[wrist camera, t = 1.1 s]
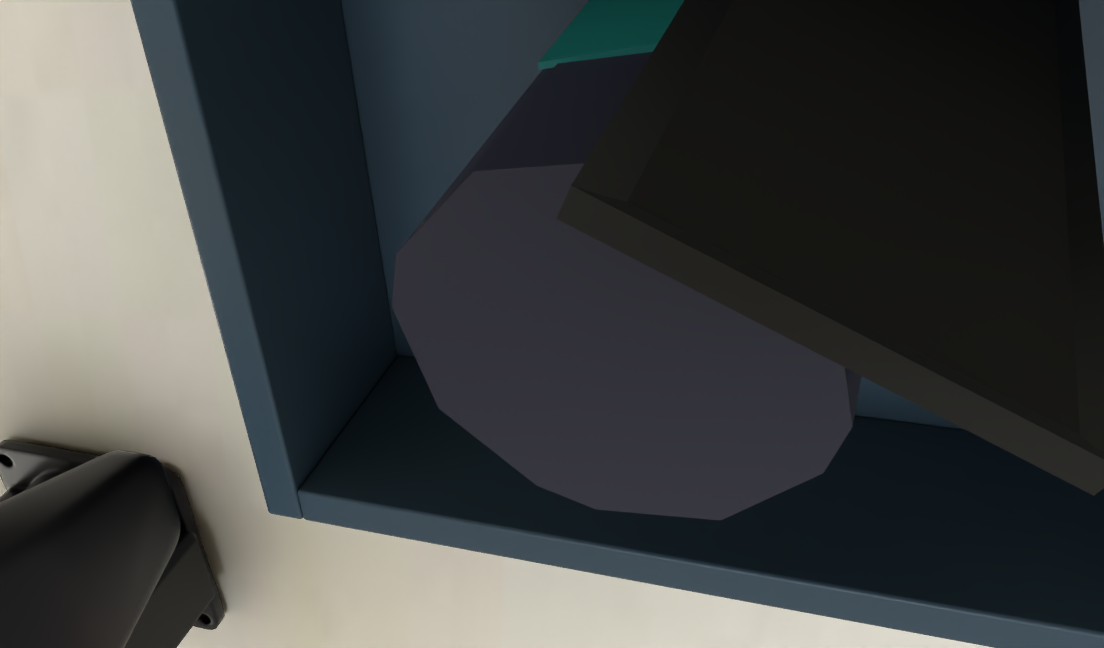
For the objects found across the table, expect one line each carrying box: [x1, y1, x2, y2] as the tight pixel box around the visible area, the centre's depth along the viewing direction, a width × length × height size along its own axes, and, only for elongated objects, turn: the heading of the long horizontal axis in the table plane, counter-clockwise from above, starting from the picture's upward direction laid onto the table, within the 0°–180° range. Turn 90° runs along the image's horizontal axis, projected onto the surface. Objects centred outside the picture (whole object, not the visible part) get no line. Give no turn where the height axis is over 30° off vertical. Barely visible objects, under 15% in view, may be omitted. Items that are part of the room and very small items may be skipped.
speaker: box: [392, 0, 1104, 520], centre depth 14 cm, size 8×6×10 cm
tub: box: [131, 0, 1104, 648], centre depth 16 cm, size 19×16×5 cm
